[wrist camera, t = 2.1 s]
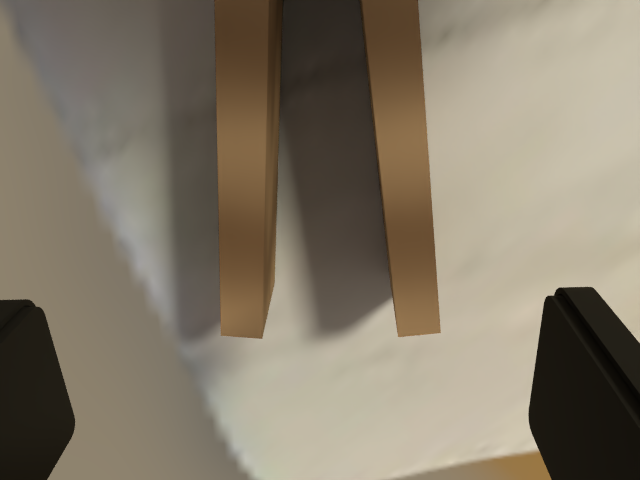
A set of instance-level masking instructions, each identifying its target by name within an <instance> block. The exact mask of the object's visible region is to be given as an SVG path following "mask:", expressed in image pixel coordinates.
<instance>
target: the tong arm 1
mask: <svg viewBox="0 0 640 480" xmlns="http://www.w3.org/2000/svg"><path fill="white" fill-rule="evenodd" d="M214 2H215V54H216V106H217V159H218V211H219V263H220V316H221V336H233V337H247V338H260V339H262V337H263V332H264V328H265V323H266V319H267V314H268V310H269V305H270V301H271V296H272V292H273V287H274V283H275V249H276V216H277V183H278V150H279V116H280V83H281V50H282V16H283V0H214Z"/></svg>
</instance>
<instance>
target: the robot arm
mask: <svg viewBox="0 0 640 480" xmlns="http://www.w3.org/2000/svg"><path fill="white" fill-rule="evenodd" d="M529 425H530V429H531V432H532V435H533V437H534V439H535V442H536V444H537V446H538V449H539V451H540V453H541V456H542V458H543V460H544V463H545V465H546V467H547V470H548V472H549V474H550V477H551V479H552V480H640V343H639V342H638V341H637V340H636V338H635V337H634V336H633V335H632V334H631V332H630V331H629V330H628V329H627V328H626V326H625V325H624V324H623V323H622V322H621V320H620V319H619V318H618V317H617V315H616V314H615V313H614V312H613V311H612V309H611V308H610V307H609V306H608V305H607V303H606V302H605V301H604V300H603V299H602V297H601V296H600V295H599V294H598V293H597V291H596V290H595V289H594V288H592V287H568V288H558V289H557V290H556V292H555V294H554V296H547V297H546V299H545V302H544V307H543V314H542V321H541V328H540V335H539V342H538V349H537V356H536V363H535V370H534V377H533V384H532V391H531V398H530V405H529ZM74 427H75V418H74V414H73V410H72V407H71V403H70V400H69V396H68V393H67V389H66V386H65V382H64V379H63V376H62V372H61V368H60V365H59V362H58V358H57V355H56V351H55V348H54V344H53V341H52V337H51V334H50V330H49V327H48V323H47V320H46V317H45V314H44V311H43V310H42V309H41V308H40V307H36V306H35V304H34V303H33V302H32V301H30V300H0V480H47V479H48V477H49V475H50V474H51V472H52V470H53V468H54V467H55V465H56V463H57V461H58V460H59V458H60V456H61V455H62V453H63V451H64V450H65V448H66V446H67V444H68V443H69V441H70V439H71V437H72V435H73V432H74Z"/></svg>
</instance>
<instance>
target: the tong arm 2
mask: <svg viewBox="0 0 640 480" xmlns="http://www.w3.org/2000/svg"><path fill="white" fill-rule="evenodd" d="M360 9H361V19H362V28H363V37H364V46H365V55H366V64H367V73H368V82H369V92H370V101H371V110H372V119H373V128H374V137H375V146H376V155H377V165H378V174H379V183H380V192H381V201H382V210H383V219H384V229H385V238H386V247H387V256H388V265H389V274H390V283H391V290H392V297H393V304H394V311H395V318H396V325H397V332H398V337H404V336H414V335H424V334H434V333H441V332H440V317H439V302H438V288H437V273H436V259H435V244H434V229H433V215H432V200H431V185H430V171H429V156H428V142H427V127H426V112H425V98H424V83H423V69H422V54H421V39H420V25H419V10H418V0H360Z"/></svg>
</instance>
